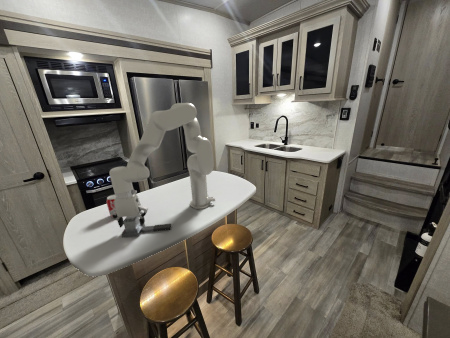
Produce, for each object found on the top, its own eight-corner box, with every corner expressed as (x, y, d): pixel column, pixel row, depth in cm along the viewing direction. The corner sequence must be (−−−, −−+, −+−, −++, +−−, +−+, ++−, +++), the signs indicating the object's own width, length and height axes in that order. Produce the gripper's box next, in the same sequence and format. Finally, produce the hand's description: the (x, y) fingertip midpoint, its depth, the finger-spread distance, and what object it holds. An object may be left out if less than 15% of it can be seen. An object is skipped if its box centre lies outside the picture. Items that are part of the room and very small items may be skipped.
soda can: (127, 212, 104) (123, 194, 100) (117, 219, 98) (111, 200, 94) (118, 211, 106) (113, 193, 102) (107, 217, 100) (102, 198, 96)
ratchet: (172, 223, 93) (171, 215, 92) (169, 233, 86) (167, 225, 84) (129, 227, 92) (126, 218, 90) (122, 237, 84) (119, 229, 82)
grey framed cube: (140, 224, 90) (138, 214, 88) (136, 231, 85) (134, 220, 83) (130, 225, 90) (127, 215, 88) (125, 231, 85) (123, 221, 83)
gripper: (146, 188, 85) (152, 218, 91) (109, 191, 84) (117, 221, 90) (141, 196, 78) (148, 228, 84) (100, 198, 77) (109, 231, 83)
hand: (132, 224), depth 87 cm, fingers open, 9 cm apart
